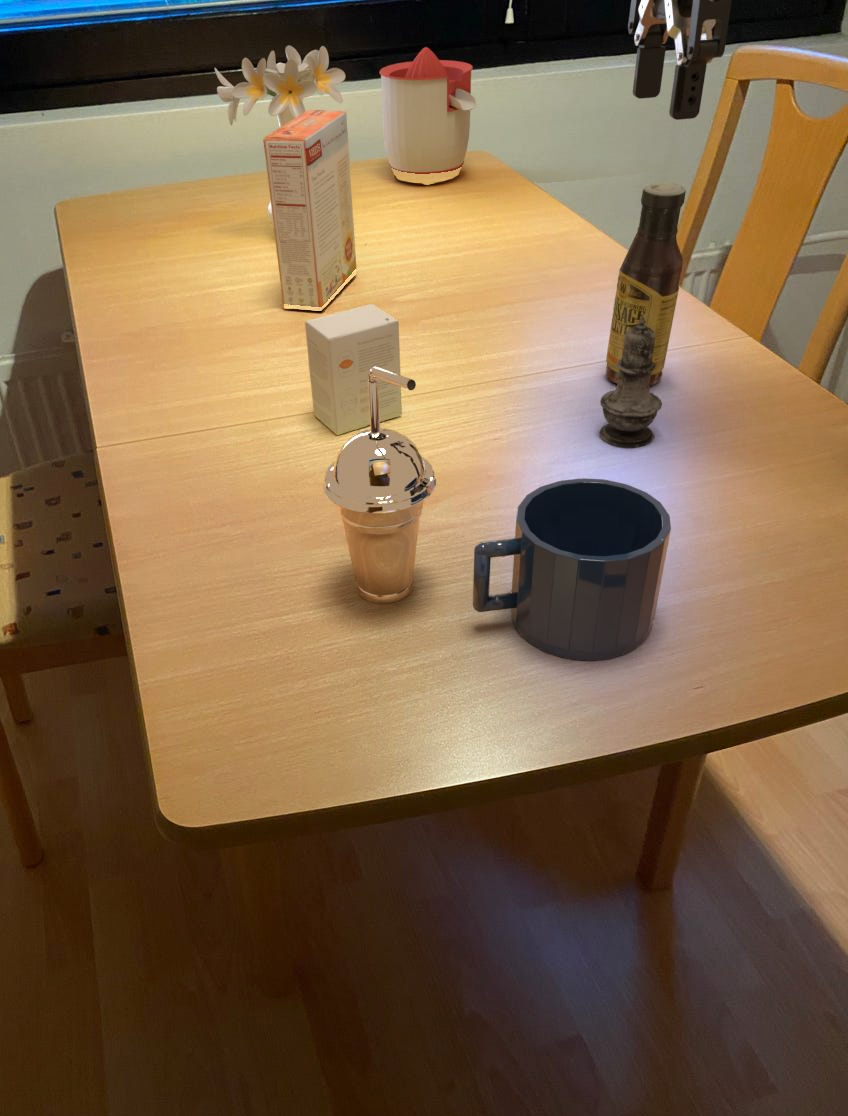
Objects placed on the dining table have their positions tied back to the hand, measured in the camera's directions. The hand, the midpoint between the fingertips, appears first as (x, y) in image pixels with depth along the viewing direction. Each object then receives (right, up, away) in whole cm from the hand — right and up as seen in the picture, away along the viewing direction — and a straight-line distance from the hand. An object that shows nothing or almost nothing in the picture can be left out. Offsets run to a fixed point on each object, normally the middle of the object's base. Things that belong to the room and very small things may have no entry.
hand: (663, 107), depth 80 cm
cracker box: (-31, +3, +51) cm, 59 cm away
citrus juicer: (-13, +38, +91) cm, 100 cm away
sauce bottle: (+5, -16, +26) cm, 31 cm away
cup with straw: (-23, -40, -1) cm, 46 cm away
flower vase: (-36, +19, +70) cm, 81 cm away
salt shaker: (+1, -24, +17) cm, 29 cm away
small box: (-26, -21, +22) cm, 40 cm away
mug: (-10, -42, -5) cm, 44 cm away
